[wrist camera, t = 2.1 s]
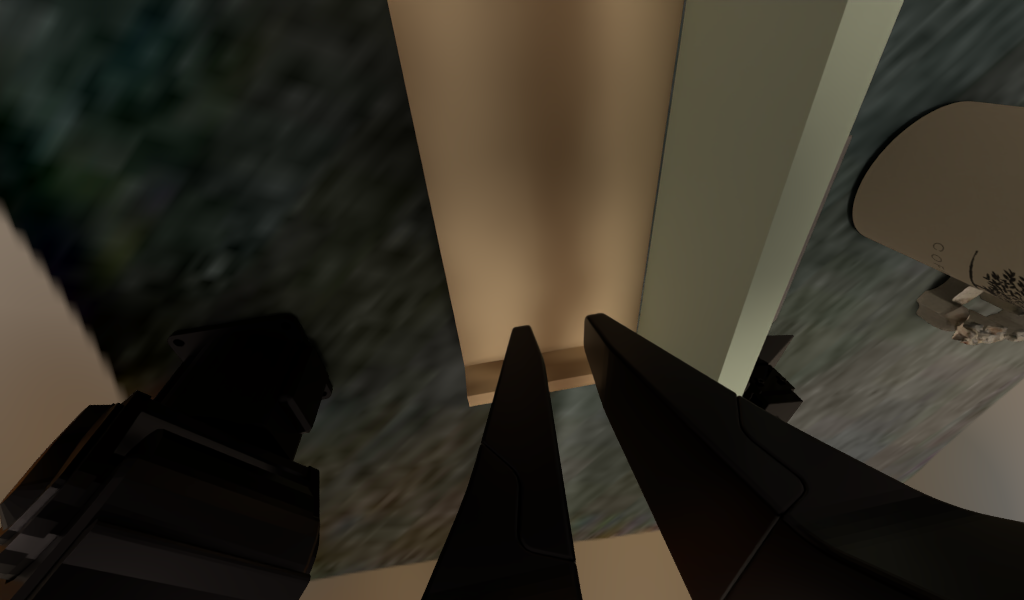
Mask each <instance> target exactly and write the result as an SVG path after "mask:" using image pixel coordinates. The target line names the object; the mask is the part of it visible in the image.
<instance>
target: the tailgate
mask: <svg viewBox="0 0 1024 600" xmlns="http://www.w3.org/2000/svg"><path fill="white" fill-rule="evenodd" d="M903 1H904V0H687V1H686V8H685V15H684V21H683V28H682V35H681V42H680V49H679V55H678V62H677V69H676V76H675V82H674V89H673V96H672V103H671V110H670V116H669V123H668V130H667V137H666V143H665V150H664V157H663V164H662V171H661V177H660V184H659V191H658V198H657V204H656V211H655V218H654V225H653V231H652V238H651V245H650V252H649V259H648V265H647V272H646V279H645V286H644V292H643V299H642V306H641V313H640V320H639V326H638V333H637V334H639V335H641V336H642V337H644V338H646V339H647V340H649V341H651V342H652V343H654V344H656V345H657V346H659V347H661V348H662V349H664V350H665V351H667V352H669V353H670V354H672V355H674V356H675V357H677V358H679V359H680V360H682V361H684V362H685V363H687V364H689V365H690V366H692V367H694V368H695V369H697V370H699V371H700V372H702V373H704V374H705V375H707V376H709V377H710V378H712V379H714V380H715V381H717V382H718V383H720V384H722V385H723V386H725V387H727V388H728V389H730V390H732V391H733V392H735V393H736V394H737V396H742V395H743V393H744V390H745V388H746V385H747V383H748V381H749V378H750V376H751V373H752V371H753V368H754V366H755V363H756V361H757V358H758V356H759V354H760V351H761V349H762V346H763V344H764V341H765V339H766V336H767V334H768V332H769V329H770V327H771V324H772V322H773V321H776V319H777V317H778V314H779V312H780V309H781V307H782V305H783V302H784V300H785V297H786V295H787V293H788V290H789V288H790V285H791V283H792V281H793V278H794V276H795V273H796V271H797V268H798V266H799V264H800V261H801V259H802V256H803V254H804V252H805V249H806V247H807V244H808V242H809V239H810V237H811V235H812V232H813V230H814V227H815V225H816V223H817V220H818V218H819V215H820V213H821V211H822V208H823V206H824V203H825V201H826V198H827V196H828V194H829V191H830V189H831V186H832V184H833V182H834V179H835V177H836V174H837V172H838V169H839V167H840V165H841V162H842V160H843V157H844V155H845V153H846V150H847V148H848V145H849V143H850V141H851V138H852V135H849V133H850V131H851V128H852V126H853V124H854V121H855V119H856V116H857V114H858V111H859V109H860V106H861V104H862V102H863V99H864V97H865V94H866V92H867V89H868V87H869V84H870V82H871V79H872V77H873V75H874V72H875V70H876V67H877V65H878V62H879V60H880V57H881V55H882V53H883V50H884V48H885V45H886V43H887V40H888V38H889V35H890V33H891V31H892V28H893V26H894V23H895V21H896V18H897V16H898V13H899V11H900V9H901V6H902V4H903Z"/></svg>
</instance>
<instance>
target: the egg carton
mask: <svg viewBox="0 0 1024 600" xmlns="http://www.w3.org/2000/svg"><path fill="white" fill-rule="evenodd" d="M978 295H980V298H981V299H983V300H985V301H987V302H989V303H991V304H993V305H995V306H997V307H999V308H1001V309H1002V310H1001V311H1000V312H999V313H997V314H992V315H989V316H987V317H985V316H983V315H981V314H979V313H977V312H975V311H973V310H968V309H967V308H965V307H964V306H963V304H966V303H968V302H969V301H970V300H971V299H973V298H975V297H976V296H978ZM916 301H917V302H918V303H919V309H918V310H917V312H916V314H917V315H918V316H920V317H921V318H923V319H924V320H926V321H927V322H928V323H929V324H931V325H932V326H935V327H937V328H939V329H941V330H945V331H956V332H955V333H954V335H953V336H952V339H955V340H961V343H962V342H963V343H965V344H967V345H970V344H971V345H975V344H976V345H978V343H982V342H984V343H993V342H996V341H1002V340H1003V339H1004V338H1005V339H1008V340H1011V341H1014V342H1019V341H1024V310H1023V309H1021V308H1019V307H1017V306H1015V305H1013V304H1010V303H1008V302H1006V301H1004V300H1002V299H999V298H997V297H995V296H993V295H991V294H989V293H986V292H984V291H982V290H980V289H978V288H976V287H973V286H971V285H969V284H967V283H965V282H963V281H960V280H958V279H956V278H954V277H952V276H951V277H950V278H949V279H948V280H947V281H946V282H945V283H944V284H942V285H941V286H939V287H937V288H935V289H932V290H926V291H925V292H924V293H923V294H922V295H921V296H920V297H919V298H918V299H917V300H916Z"/></svg>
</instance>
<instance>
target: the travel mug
mask: <svg viewBox="0 0 1024 600" xmlns="http://www.w3.org/2000/svg"><path fill="white" fill-rule="evenodd" d="M853 222H854V225H855V227H856V229H857V230H858V232H859V233H860V234H862V235H863V236H865V237H867V238H869V239H871V240H873V241H876V242H878V243H880V244H882V245H884V246H886V247H889V248H891V249H893V250H895V251H897V252H900V253H902V254H904V255H906V256H908V257H910V258H913V259H915V260H917V261H919V262H921V263H923V264H926V265H928V266H930V267H932V268H934V269H936V270H939V271H941V272H943V273H945V274H947V275H949V276H952V277H954V278H956V279H958V280H960V281H963V282H965V283H967V284H969V285H971V286H973V287H976V288H978V289H980V290H982V291H984V292H986V293H989V294H991V295H993V296H995V297H997V298H999V299H1002V300H1004V301H1006V302H1008V303H1010V304H1013V305H1015V306H1017V307H1019V308H1021V309H1023V310H1024V107H1017V106H1008V105H999V104H991V103H982V102H973V101H964V102H957V103H953V104H950V105H946V106H944V107H941V108H939V109H937V110H935V111H933V112H931V113H929V114H927V115H926V116H924V117H922V118H921V119H919V120H918V121H916V122H915V123H913V124H912V125H911V126H909V127H908V128H907V129H905V130H904V131H903V132H902V133H901V134H899V135H898V136H897V137H896V138H895V139H894V140H893V141H892V142H891V143H890V144H889V145H888V146H887V147H886V148H885V149H884V151H883V152H882V153H881V154H880V155H879V156H878V158H877V159H876V160H875V161H874V163H873V164H872V166H871V167H870V168H869V170H868V172H867V173H866V175H865V177H864V178H863V180H862V182H861V184H860V186H859V188H858V191H857V194H856V197H855V200H854V204H853Z"/></svg>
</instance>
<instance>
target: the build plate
mask: <svg viewBox="0 0 1024 600" xmlns="http://www.w3.org/2000/svg"><path fill="white" fill-rule="evenodd" d="M793 337H794V336H793V335H776V336H766V339H765V341H764V344H763V346H762V349H761V351H760V354H759V356H758V358H757V361H756V363H755V366H754V368H753V371H752V373H751V376H750V378H749V381H748V383H747V385H746V388H745V390H744V393H743V395H742V397H744V398H745V399H747V400H749V401H750V402H752V403H753V404H755V405H757V406H758V407H760V408H762V409H764V410H765V411H767V412H769V413H771V414H772V415H774V416H776V417H777V418H779V419H781V420H783V421H784V422H786V423H787V422H788V421H789V419H790V418H791V417H792V415H793V414H794V413H795V411H796V410H797V409H798V407H799V406H800V405H801V403H802V402H803V401H802V400H801V399H800V398H799V397H798V396H797V395H796V394H795V393H794V392H793V391H794V389H795V388H794V387H793V386H792V385H791V384H790V383H789V382H788V381H787V380H786V379H785V378H784V377H783V376H782V375H781V374H780V373H779V372H777V371H776V370H775V369H774V367H775V365H776V364H777V362H778V360H779V359H780V357H781V356H782V354H783V352H784V351H785V349H786V348H787V346H788V345H789V343H790V341H791V340H792V338H793Z"/></svg>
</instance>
